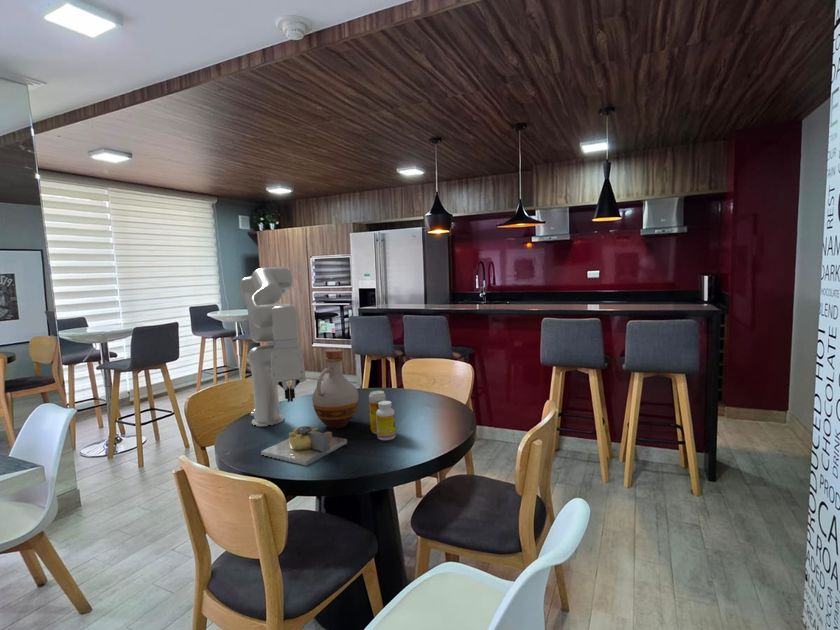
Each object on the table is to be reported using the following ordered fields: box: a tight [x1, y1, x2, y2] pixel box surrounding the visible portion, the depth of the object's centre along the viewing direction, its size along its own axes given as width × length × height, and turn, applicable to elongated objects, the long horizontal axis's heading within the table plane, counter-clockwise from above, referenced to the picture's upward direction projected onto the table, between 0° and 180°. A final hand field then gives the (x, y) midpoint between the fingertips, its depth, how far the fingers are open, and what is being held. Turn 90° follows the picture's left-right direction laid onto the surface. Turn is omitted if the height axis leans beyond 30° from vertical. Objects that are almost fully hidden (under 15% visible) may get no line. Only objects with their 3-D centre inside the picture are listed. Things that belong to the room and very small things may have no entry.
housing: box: [260, 431, 348, 467], centre depth 150 cm, size 20×20×6 cm
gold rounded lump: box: [288, 425, 330, 452], centre depth 148 cm, size 16×10×6 cm, turn 53°
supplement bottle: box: [376, 400, 397, 441], centre depth 157 cm, size 7×7×13 cm
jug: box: [311, 349, 359, 429], centre depth 171 cm, size 20×18×30 cm
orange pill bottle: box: [368, 390, 387, 435], centre depth 163 cm, size 6×6×15 cm
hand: (290, 400), depth 141 cm, fingers closed
